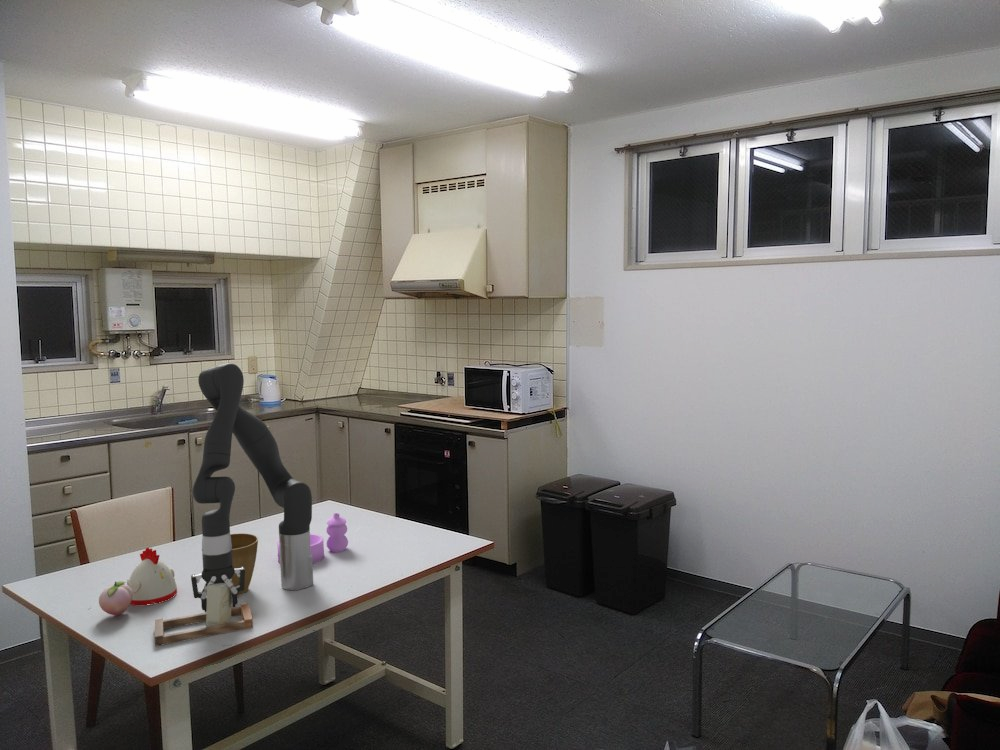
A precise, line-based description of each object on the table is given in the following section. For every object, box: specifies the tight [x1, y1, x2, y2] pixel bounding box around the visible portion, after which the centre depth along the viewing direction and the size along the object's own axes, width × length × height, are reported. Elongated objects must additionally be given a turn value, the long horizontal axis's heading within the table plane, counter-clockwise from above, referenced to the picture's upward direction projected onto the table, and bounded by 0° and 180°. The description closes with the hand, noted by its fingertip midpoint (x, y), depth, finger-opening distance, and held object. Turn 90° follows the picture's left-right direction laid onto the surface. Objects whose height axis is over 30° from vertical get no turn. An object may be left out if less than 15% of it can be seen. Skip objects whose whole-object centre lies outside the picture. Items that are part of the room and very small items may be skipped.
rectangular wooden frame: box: [154, 603, 254, 647], centre depth 198 cm, size 24×11×2 cm, turn 115°
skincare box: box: [205, 579, 232, 627], centre depth 200 cm, size 6×4×12 cm
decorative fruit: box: [98, 580, 133, 617], centre depth 207 cm, size 9×8×10 cm
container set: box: [276, 512, 349, 565], centre depth 255 cm, size 25×15×13 cm, turn 129°
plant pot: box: [230, 532, 259, 596], centre depth 223 cm, size 15×15×16 cm
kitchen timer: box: [126, 547, 178, 606], centre depth 220 cm, size 14×14×15 cm
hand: (219, 608), depth 200 cm, fingers closed on skincare box, 6 cm apart
